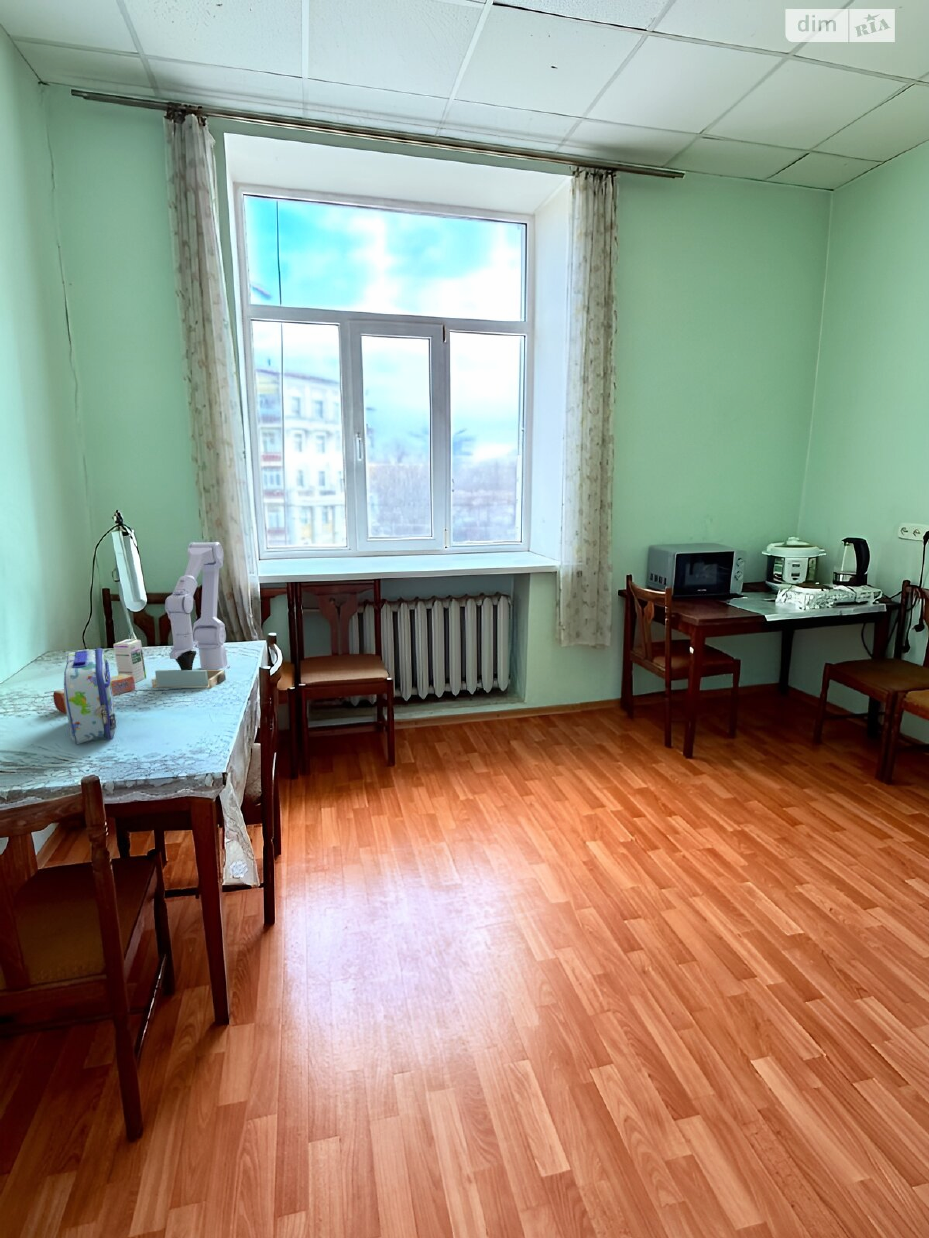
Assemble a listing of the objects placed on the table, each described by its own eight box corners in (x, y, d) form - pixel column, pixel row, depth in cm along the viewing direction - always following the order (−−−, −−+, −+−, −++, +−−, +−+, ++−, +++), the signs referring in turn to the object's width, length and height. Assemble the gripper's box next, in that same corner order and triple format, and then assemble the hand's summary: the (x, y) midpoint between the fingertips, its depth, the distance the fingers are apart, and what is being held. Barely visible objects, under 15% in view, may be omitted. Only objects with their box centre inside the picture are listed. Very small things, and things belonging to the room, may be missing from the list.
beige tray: (166, 681, 211) (165, 669, 210) (229, 681, 210) (227, 670, 209) (150, 691, 201) (148, 679, 201) (215, 692, 200) (214, 679, 199)
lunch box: (119, 742, 164) (107, 663, 159) (70, 752, 159) (56, 670, 154) (116, 710, 186) (105, 640, 181) (73, 718, 181) (61, 646, 176)
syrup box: (135, 687, 206) (129, 643, 202) (119, 686, 207) (112, 643, 203) (147, 682, 211) (141, 639, 208) (131, 681, 212) (125, 638, 209)
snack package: (127, 690, 204) (124, 670, 202) (138, 694, 200) (135, 673, 198) (54, 711, 187) (50, 689, 185) (64, 716, 183) (61, 693, 182)
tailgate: (158, 685, 202) (156, 670, 201) (208, 685, 201) (206, 670, 200) (157, 686, 201) (155, 671, 200) (207, 686, 200) (205, 671, 199)
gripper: (181, 627, 208) (186, 667, 211) (157, 638, 194) (163, 681, 197) (202, 627, 207) (207, 667, 211) (180, 638, 193) (185, 682, 196)
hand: (187, 674), depth 204 cm, fingers closed
